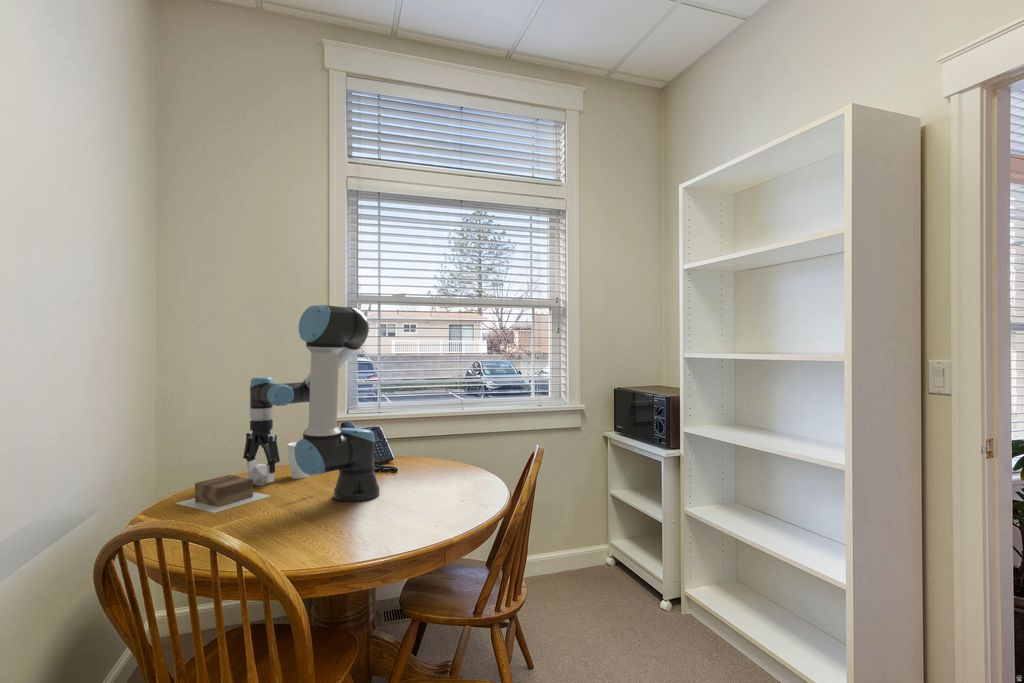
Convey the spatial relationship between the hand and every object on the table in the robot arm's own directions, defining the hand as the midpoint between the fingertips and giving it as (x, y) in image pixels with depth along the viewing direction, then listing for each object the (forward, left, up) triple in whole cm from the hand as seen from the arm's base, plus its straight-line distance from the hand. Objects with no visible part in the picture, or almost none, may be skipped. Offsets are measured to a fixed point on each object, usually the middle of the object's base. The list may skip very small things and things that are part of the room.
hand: (261, 480), depth 192 cm
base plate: (-7, +19, -2) cm, 20 cm away
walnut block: (-7, +19, -1) cm, 20 cm away
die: (0, 0, -2) cm, 2 cm away
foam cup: (-2, -16, -2) cm, 16 cm away
